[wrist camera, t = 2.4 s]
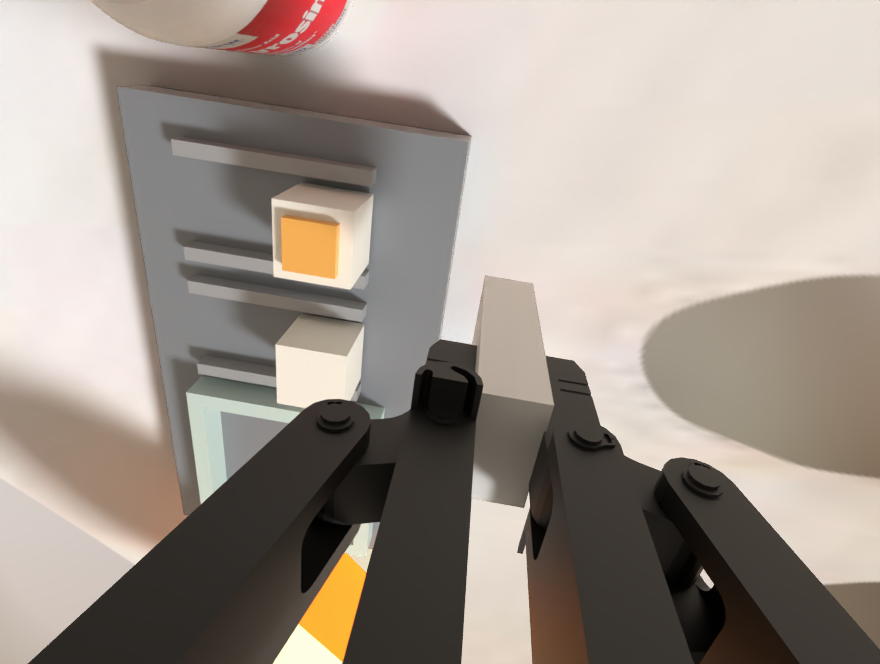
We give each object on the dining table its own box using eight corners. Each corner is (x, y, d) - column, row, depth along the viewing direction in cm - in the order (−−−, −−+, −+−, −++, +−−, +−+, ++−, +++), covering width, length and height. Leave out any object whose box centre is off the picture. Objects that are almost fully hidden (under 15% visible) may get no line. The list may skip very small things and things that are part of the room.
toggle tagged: (301, 182, 20) (266, 201, 17) (373, 193, 20) (351, 214, 17) (301, 251, 22) (269, 280, 19) (368, 263, 21) (347, 293, 18)
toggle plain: (301, 313, 23) (275, 344, 20) (364, 324, 23) (346, 356, 20) (301, 367, 24) (276, 402, 22) (360, 377, 24) (343, 414, 22)
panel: (148, 85, 21) (88, 87, 18) (471, 136, 21) (466, 146, 18) (201, 490, 32) (169, 534, 29) (410, 528, 32) (401, 577, 29)
